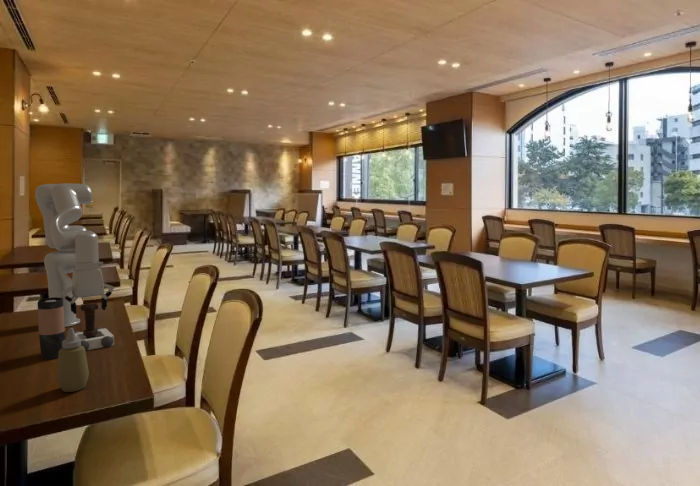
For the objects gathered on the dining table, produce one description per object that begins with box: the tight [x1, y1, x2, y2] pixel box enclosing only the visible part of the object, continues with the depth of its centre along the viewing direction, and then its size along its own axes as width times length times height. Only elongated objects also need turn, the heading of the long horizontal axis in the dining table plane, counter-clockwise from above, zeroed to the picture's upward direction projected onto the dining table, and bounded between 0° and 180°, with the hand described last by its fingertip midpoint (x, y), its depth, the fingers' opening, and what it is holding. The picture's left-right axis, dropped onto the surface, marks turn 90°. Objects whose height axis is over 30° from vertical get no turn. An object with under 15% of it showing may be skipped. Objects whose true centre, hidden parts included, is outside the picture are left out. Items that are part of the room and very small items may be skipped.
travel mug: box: [36, 297, 66, 360], centre depth 162 cm, size 8×8×20 cm
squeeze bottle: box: [56, 327, 90, 393], centre depth 135 cm, size 8×8×18 cm
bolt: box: [80, 303, 99, 339], centre depth 175 cm, size 6×5×15 cm
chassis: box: [74, 327, 115, 352], centre depth 175 cm, size 15×13×4 cm
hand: (89, 311), depth 175 cm, fingers open, 9 cm apart
